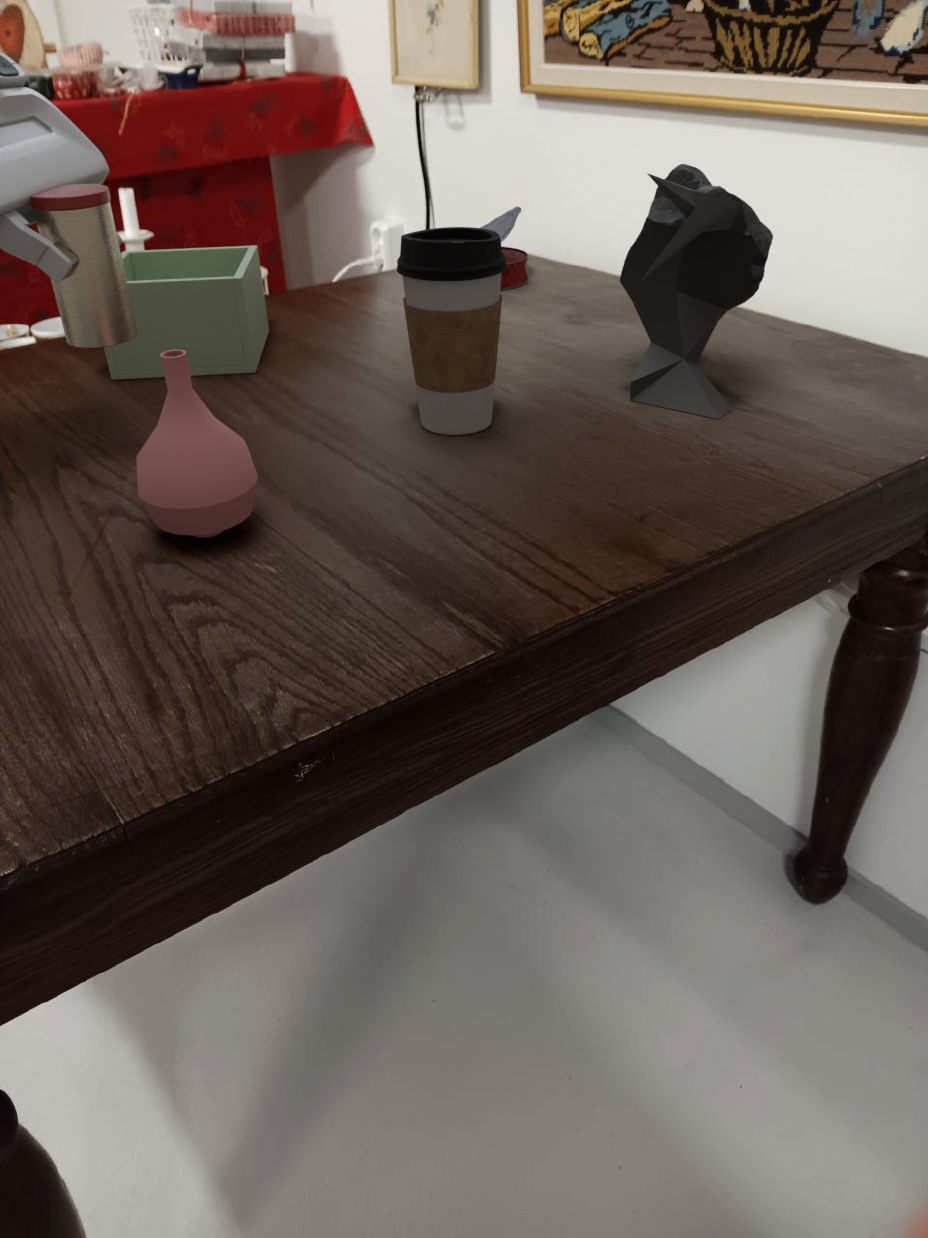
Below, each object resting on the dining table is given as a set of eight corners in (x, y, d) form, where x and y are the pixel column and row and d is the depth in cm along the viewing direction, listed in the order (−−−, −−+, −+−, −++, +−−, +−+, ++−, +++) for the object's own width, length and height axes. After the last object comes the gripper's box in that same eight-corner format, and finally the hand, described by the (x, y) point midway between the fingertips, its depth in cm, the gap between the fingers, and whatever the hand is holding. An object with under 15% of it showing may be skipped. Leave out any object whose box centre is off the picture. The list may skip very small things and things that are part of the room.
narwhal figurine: (786, 367, 89) (821, 153, 79) (719, 419, 79) (749, 180, 69) (647, 342, 96) (663, 143, 86) (569, 387, 86) (577, 167, 76)
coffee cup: (388, 434, 78) (374, 239, 70) (430, 398, 84) (422, 217, 76) (485, 447, 75) (482, 246, 67) (520, 409, 82) (522, 222, 73)
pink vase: (274, 544, 63) (247, 363, 56) (154, 567, 60) (111, 382, 54) (253, 496, 69) (226, 328, 62) (144, 515, 67) (104, 344, 60)
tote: (111, 380, 91) (89, 284, 86) (141, 337, 102) (122, 250, 97) (255, 372, 92) (241, 277, 87) (269, 331, 103) (257, 245, 98)
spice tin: (56, 350, 68) (17, 198, 62) (75, 328, 72) (40, 184, 67) (131, 346, 68) (98, 195, 63) (145, 325, 73) (115, 181, 67)
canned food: (508, 327, 117) (496, 262, 109) (438, 309, 121) (421, 244, 112) (550, 265, 121) (541, 197, 113) (481, 249, 125) (467, 182, 116)
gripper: (-175, 79, 53) (35, 265, 57) (23, 54, 70) (175, 199, 74) (-212, 167, 56) (-11, 337, 60) (-14, 123, 73) (133, 258, 77)
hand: (93, 260), depth 67 cm, fingers closed on spice tin, 5 cm apart
